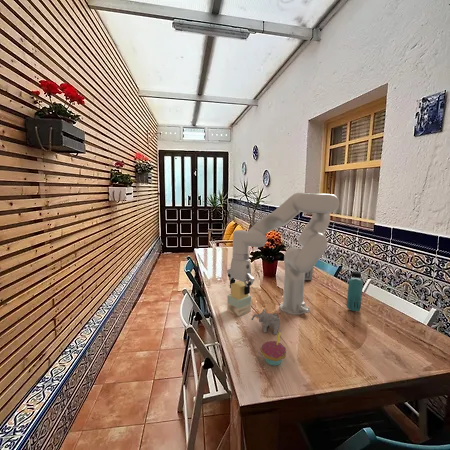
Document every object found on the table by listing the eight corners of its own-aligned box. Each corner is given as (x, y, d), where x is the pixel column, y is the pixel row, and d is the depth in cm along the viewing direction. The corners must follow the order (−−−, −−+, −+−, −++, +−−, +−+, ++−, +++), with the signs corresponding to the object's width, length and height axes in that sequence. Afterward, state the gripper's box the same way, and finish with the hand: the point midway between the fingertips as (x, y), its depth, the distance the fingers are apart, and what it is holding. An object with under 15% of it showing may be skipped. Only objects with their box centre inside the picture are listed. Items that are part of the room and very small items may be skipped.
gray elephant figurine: (282, 336, 105) (282, 319, 104) (252, 336, 105) (253, 318, 104) (277, 324, 114) (278, 308, 113) (250, 324, 114) (251, 307, 113)
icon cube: (312, 279, 171) (313, 265, 169) (297, 280, 170) (298, 265, 168) (305, 274, 181) (306, 261, 179) (292, 275, 180) (292, 261, 178)
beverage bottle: (352, 315, 124) (356, 275, 121) (342, 308, 130) (346, 270, 127) (363, 313, 126) (367, 274, 123) (353, 307, 132) (357, 269, 129)
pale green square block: (250, 304, 125) (251, 296, 125) (239, 308, 120) (239, 300, 120) (239, 298, 131) (239, 291, 131) (227, 303, 126) (227, 295, 125)
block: (248, 296, 125) (248, 284, 124) (239, 299, 121) (239, 287, 120) (239, 292, 129) (239, 280, 128) (230, 295, 125) (230, 283, 124)
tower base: (250, 311, 126) (250, 304, 125) (238, 317, 121) (239, 309, 120) (238, 306, 132) (239, 298, 131) (227, 310, 126) (227, 303, 126)
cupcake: (282, 354, 93) (283, 323, 92) (288, 371, 85) (290, 337, 83) (258, 354, 93) (259, 323, 91) (262, 371, 85) (264, 337, 83)
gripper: (259, 259, 118) (258, 294, 121) (233, 251, 131) (232, 283, 133) (248, 261, 113) (247, 298, 116) (222, 254, 126) (221, 287, 128)
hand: (239, 290), depth 125 cm, fingers open, 9 cm apart
